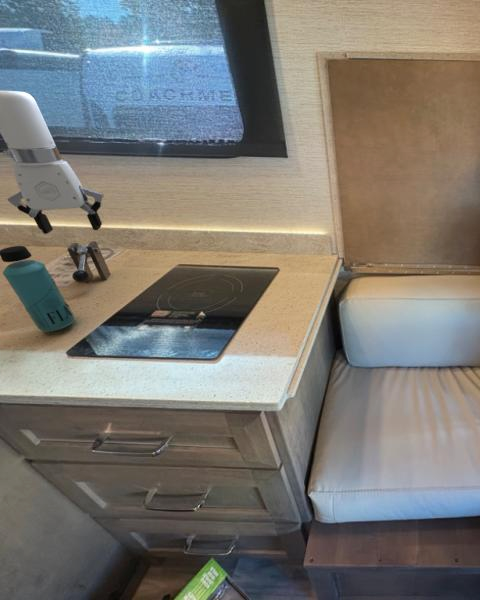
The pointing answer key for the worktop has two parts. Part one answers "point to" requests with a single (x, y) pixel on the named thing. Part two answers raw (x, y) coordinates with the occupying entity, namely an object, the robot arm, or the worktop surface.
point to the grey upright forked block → (96, 258)
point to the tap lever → (82, 264)
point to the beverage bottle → (36, 290)
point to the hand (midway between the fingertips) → (73, 230)
